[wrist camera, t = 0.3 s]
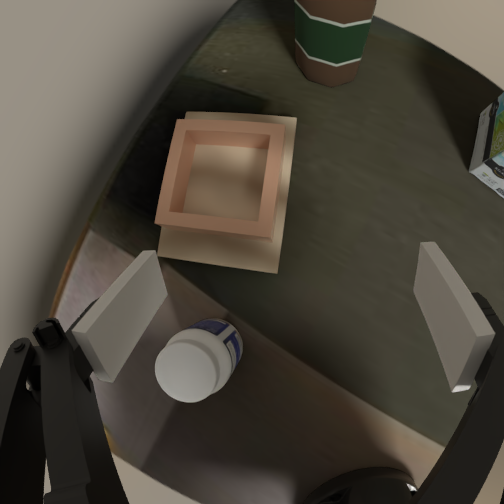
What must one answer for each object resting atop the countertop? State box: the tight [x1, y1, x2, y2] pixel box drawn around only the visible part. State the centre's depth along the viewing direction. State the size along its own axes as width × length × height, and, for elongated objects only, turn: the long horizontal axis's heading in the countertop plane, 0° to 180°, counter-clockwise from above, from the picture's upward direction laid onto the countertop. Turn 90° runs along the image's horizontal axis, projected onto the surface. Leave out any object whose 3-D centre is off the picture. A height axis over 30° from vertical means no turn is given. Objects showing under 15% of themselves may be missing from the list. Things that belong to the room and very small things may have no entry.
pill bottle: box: [155, 318, 243, 402], centre depth 26 cm, size 6×6×10 cm
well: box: [155, 119, 286, 243], centre depth 29 cm, size 10×10×4 cm
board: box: [157, 112, 297, 274], centre depth 31 cm, size 16×12×1 cm
